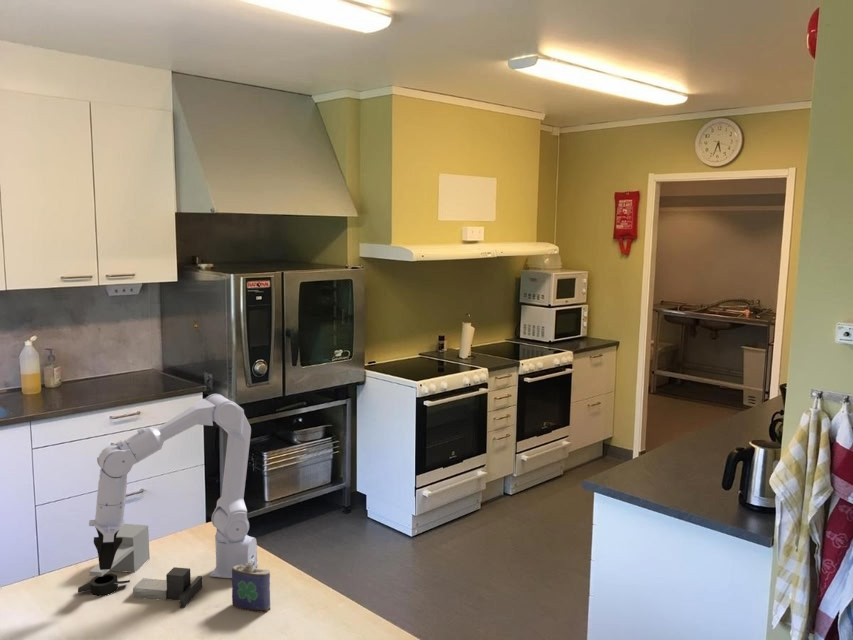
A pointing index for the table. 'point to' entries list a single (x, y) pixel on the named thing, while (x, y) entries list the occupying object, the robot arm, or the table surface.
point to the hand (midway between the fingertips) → (105, 561)
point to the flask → (250, 588)
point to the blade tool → (170, 587)
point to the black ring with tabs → (102, 585)
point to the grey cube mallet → (128, 550)
